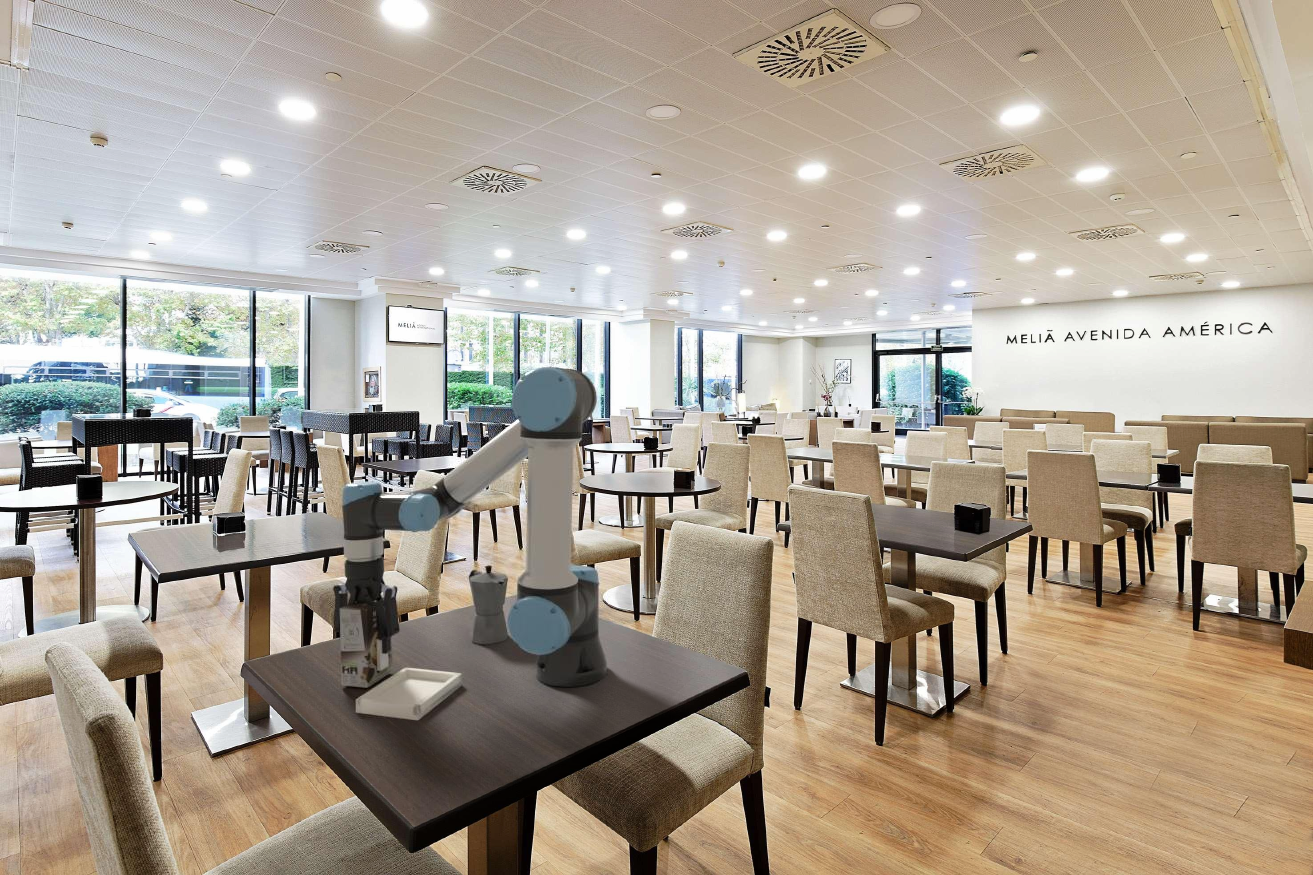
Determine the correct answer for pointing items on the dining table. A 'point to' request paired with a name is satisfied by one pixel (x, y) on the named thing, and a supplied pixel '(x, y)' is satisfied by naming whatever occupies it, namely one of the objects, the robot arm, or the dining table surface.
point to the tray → (409, 693)
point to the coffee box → (360, 646)
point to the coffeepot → (488, 606)
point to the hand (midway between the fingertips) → (367, 666)
